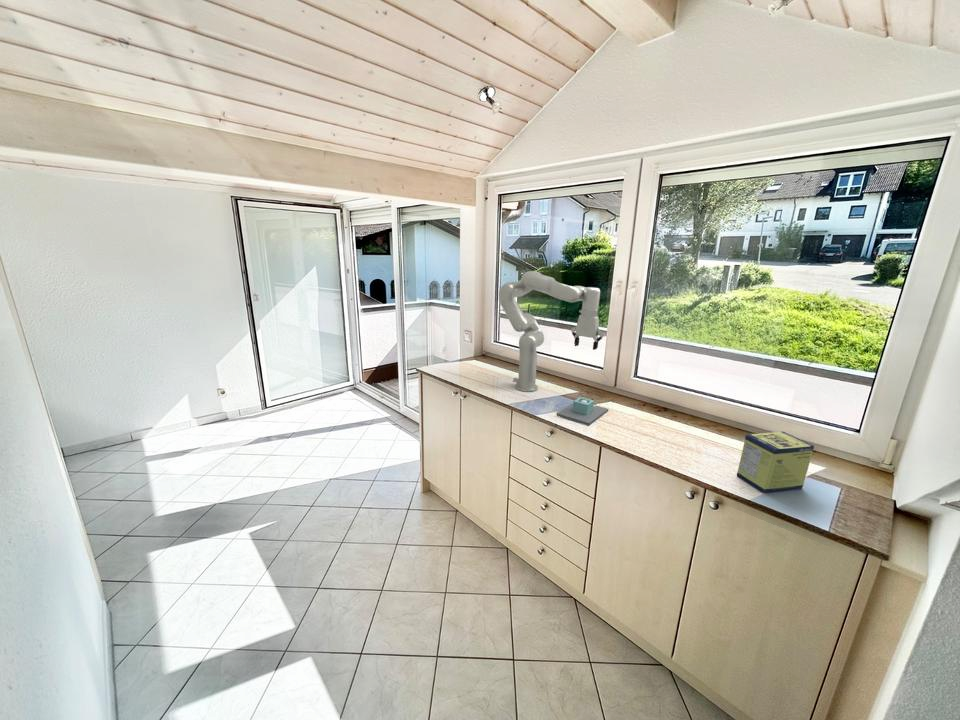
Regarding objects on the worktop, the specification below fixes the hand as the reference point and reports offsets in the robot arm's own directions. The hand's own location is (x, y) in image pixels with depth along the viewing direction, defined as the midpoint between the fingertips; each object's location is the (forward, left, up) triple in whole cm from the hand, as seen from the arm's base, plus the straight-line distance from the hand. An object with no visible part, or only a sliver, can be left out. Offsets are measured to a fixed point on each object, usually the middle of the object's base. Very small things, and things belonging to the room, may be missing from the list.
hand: (585, 347), depth 186 cm
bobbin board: (+9, -16, -28) cm, 33 cm away
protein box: (+80, -28, -28) cm, 89 cm away
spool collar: (+9, -16, -27) cm, 32 cm away
